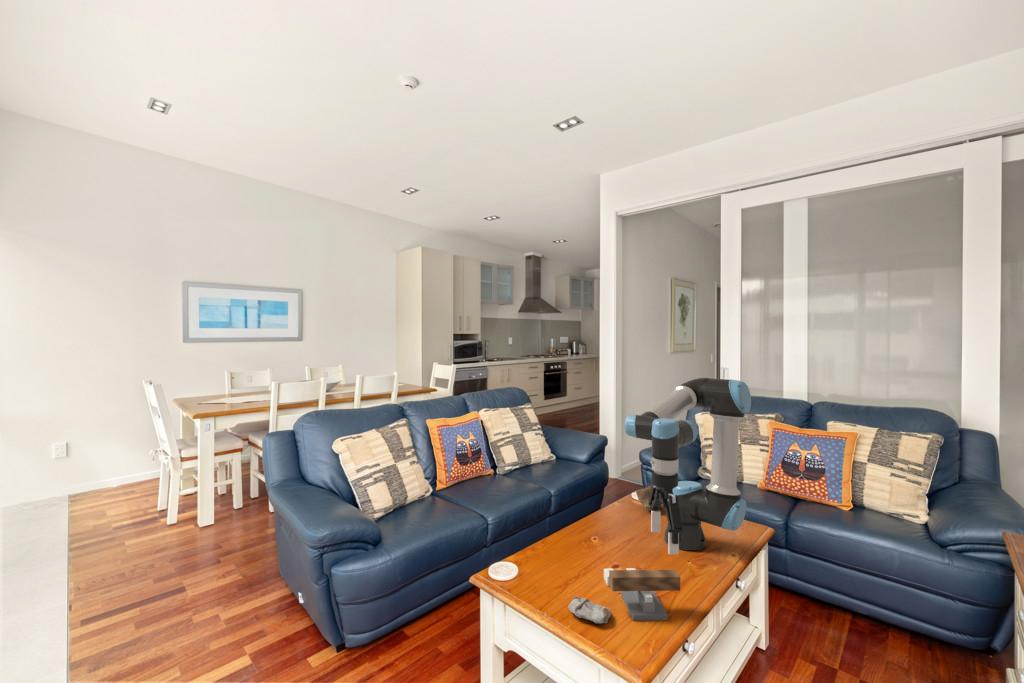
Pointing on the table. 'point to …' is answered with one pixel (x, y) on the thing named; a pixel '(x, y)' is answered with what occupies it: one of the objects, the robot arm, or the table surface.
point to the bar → (644, 580)
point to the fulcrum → (644, 605)
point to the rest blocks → (606, 574)
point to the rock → (644, 496)
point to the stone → (589, 610)
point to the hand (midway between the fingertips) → (664, 542)
